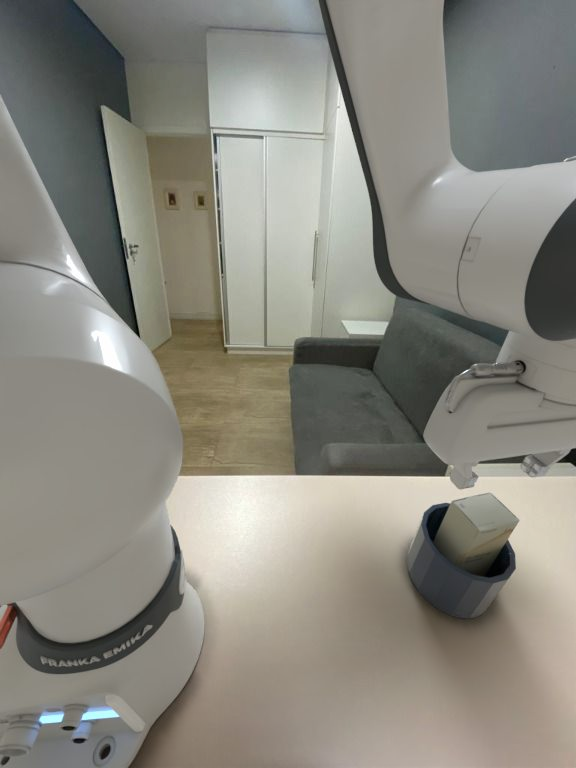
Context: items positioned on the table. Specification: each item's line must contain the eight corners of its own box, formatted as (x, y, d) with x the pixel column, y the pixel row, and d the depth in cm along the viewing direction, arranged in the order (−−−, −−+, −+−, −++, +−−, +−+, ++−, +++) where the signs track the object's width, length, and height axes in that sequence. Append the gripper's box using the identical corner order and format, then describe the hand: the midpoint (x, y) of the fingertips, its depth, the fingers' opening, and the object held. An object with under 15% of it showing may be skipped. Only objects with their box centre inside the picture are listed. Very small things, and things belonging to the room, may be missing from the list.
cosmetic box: (444, 593, 39) (478, 532, 33) (422, 559, 43) (449, 500, 37) (483, 580, 41) (522, 521, 35) (459, 549, 45) (490, 490, 39)
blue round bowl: (438, 628, 36) (461, 591, 32) (392, 546, 45) (405, 509, 41) (509, 607, 39) (538, 571, 35) (452, 533, 47) (470, 497, 44)
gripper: (493, 384, 21) (432, 518, 28) (687, 371, 26) (596, 488, 33) (434, 348, 26) (395, 468, 33) (604, 344, 31) (541, 448, 38)
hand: (496, 478), depth 33 cm, fingers open, 8 cm apart
